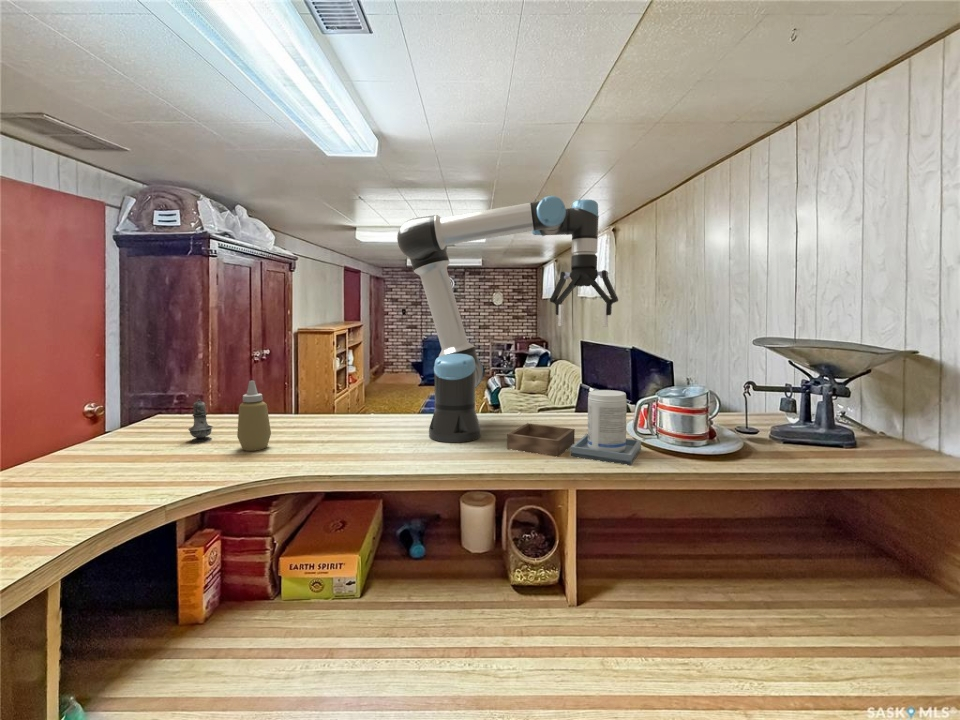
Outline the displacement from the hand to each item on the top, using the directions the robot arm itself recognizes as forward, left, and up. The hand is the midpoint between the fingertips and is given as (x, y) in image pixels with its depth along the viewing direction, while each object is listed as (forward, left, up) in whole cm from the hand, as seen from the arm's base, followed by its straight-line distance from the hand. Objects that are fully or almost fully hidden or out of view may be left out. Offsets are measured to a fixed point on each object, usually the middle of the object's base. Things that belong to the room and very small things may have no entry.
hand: (582, 326), depth 143 cm
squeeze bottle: (-70, -61, -32) cm, 98 cm away
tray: (+13, -21, -32) cm, 40 cm away
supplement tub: (+13, -21, -31) cm, 39 cm away
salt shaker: (-90, -63, -32) cm, 114 cm away
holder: (-4, -23, -32) cm, 39 cm away
